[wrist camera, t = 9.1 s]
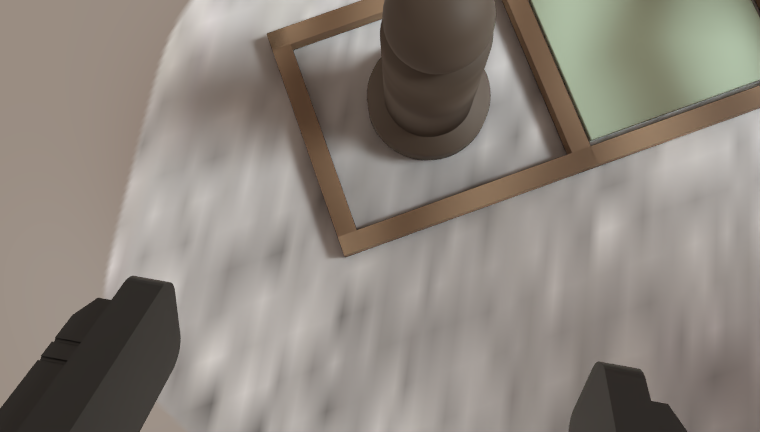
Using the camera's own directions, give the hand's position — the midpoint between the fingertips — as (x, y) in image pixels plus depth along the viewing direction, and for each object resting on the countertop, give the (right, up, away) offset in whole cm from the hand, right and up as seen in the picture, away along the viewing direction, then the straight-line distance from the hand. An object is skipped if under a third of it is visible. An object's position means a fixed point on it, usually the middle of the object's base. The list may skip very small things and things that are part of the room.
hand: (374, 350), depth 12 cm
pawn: (+2, +7, +14) cm, 16 cm away
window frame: (+7, +9, +15) cm, 18 cm away
